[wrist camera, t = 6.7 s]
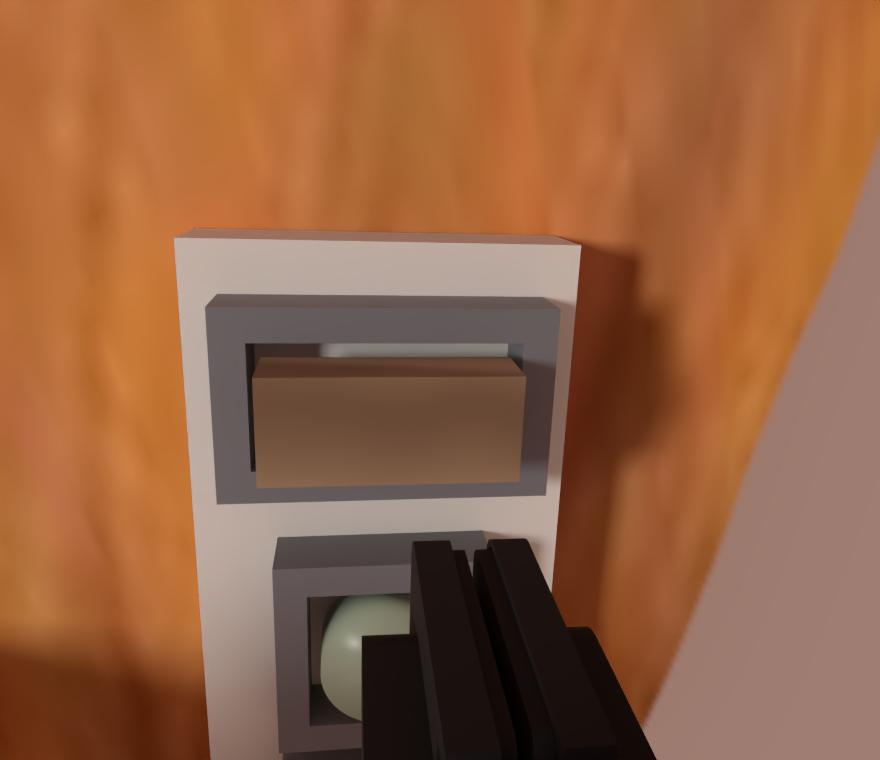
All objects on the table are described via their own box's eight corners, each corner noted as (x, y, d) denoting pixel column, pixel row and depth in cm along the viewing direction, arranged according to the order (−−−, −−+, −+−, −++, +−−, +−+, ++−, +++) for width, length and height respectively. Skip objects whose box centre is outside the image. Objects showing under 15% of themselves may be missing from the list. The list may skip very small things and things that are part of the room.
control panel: (509, 827, 33) (538, 940, 28) (232, 851, 31) (213, 976, 26) (554, 235, 25) (603, 253, 21) (194, 228, 24) (157, 245, 19)
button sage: (438, 677, 26) (446, 718, 24) (322, 684, 25) (321, 727, 23) (442, 576, 25) (450, 611, 23) (321, 581, 24) (319, 618, 22)
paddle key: (503, 453, 22) (519, 482, 20) (264, 458, 21) (256, 488, 19) (509, 357, 21) (526, 376, 19) (260, 357, 20) (252, 377, 18)
